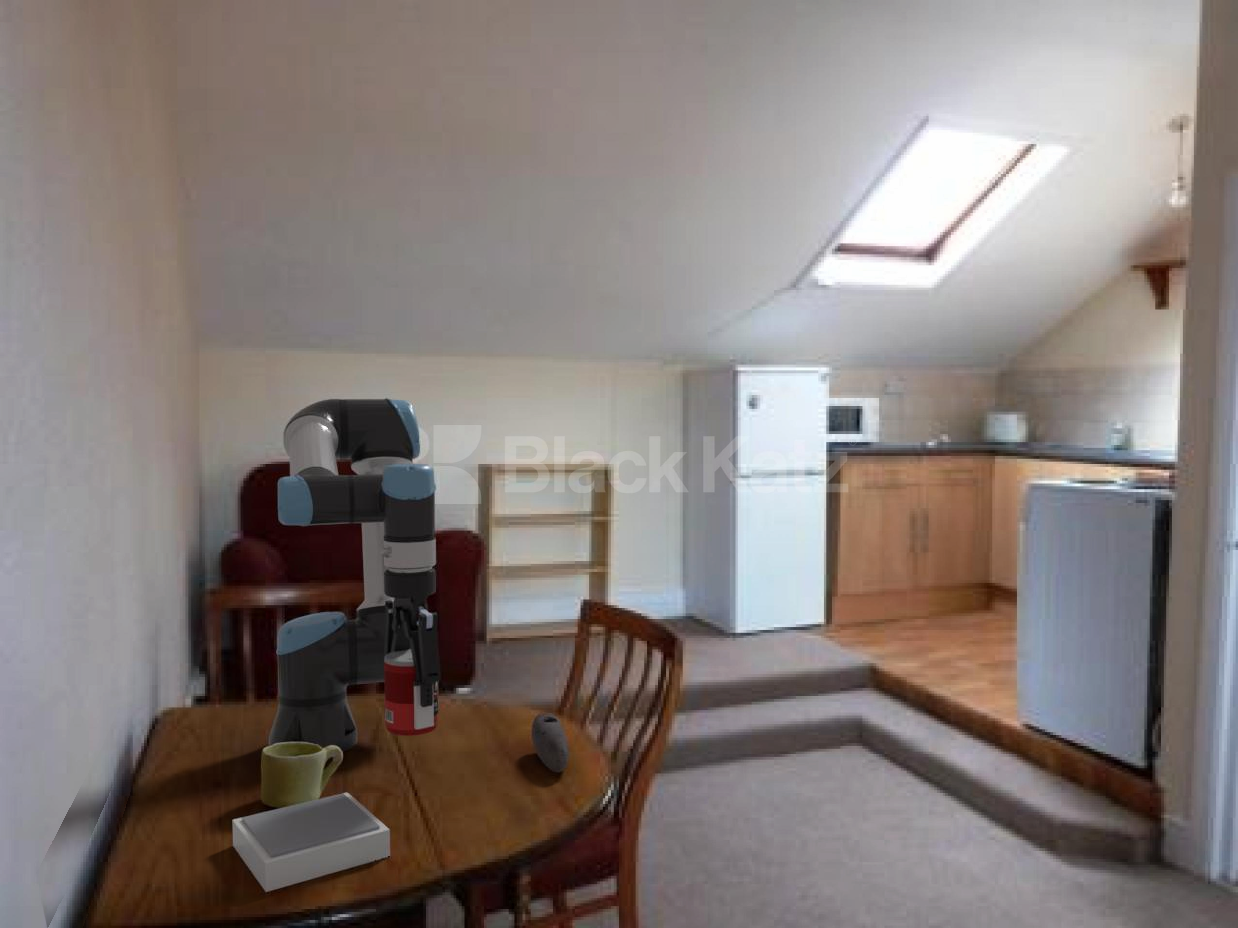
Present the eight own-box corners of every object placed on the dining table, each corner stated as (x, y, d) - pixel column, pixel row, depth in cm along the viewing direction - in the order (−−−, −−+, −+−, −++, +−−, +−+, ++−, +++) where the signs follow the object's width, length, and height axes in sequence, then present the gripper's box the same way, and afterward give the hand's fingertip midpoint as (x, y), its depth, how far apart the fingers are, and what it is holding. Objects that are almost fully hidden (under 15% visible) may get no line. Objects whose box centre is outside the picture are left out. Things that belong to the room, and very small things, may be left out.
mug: (256, 809, 134) (267, 737, 138) (249, 807, 143) (260, 740, 147) (342, 811, 139) (351, 742, 143) (331, 809, 148) (339, 743, 151)
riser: (233, 845, 127) (232, 816, 127) (347, 816, 137) (347, 789, 136) (265, 891, 114) (265, 859, 114) (390, 856, 124) (389, 826, 124)
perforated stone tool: (575, 778, 151) (574, 736, 151) (543, 781, 150) (542, 738, 149) (559, 748, 166) (559, 709, 165) (530, 750, 164) (529, 711, 164)
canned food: (426, 738, 135) (425, 663, 134) (375, 734, 136) (374, 660, 136) (447, 721, 142) (446, 649, 142) (398, 717, 144) (397, 647, 143)
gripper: (359, 561, 144) (362, 706, 145) (414, 580, 128) (417, 743, 129) (405, 557, 149) (407, 697, 150) (464, 575, 132) (466, 733, 133)
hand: (412, 718), depth 139 cm, fingers closed on canned food, 8 cm apart
